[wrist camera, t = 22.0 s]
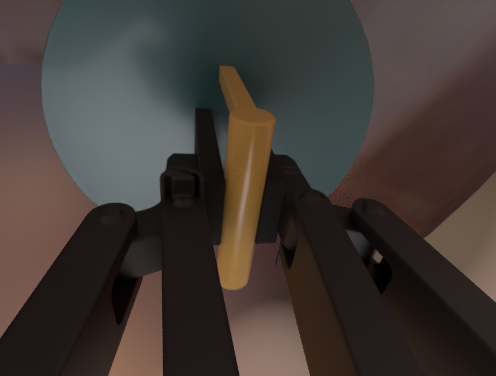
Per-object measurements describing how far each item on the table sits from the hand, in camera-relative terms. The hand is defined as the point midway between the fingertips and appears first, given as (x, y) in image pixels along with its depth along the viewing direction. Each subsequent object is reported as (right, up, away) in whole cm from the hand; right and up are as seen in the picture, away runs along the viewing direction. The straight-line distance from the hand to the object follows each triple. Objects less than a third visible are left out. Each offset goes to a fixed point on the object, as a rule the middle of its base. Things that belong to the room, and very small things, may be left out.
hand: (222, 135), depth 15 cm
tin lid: (0, 0, +1) cm, 1 cm away
